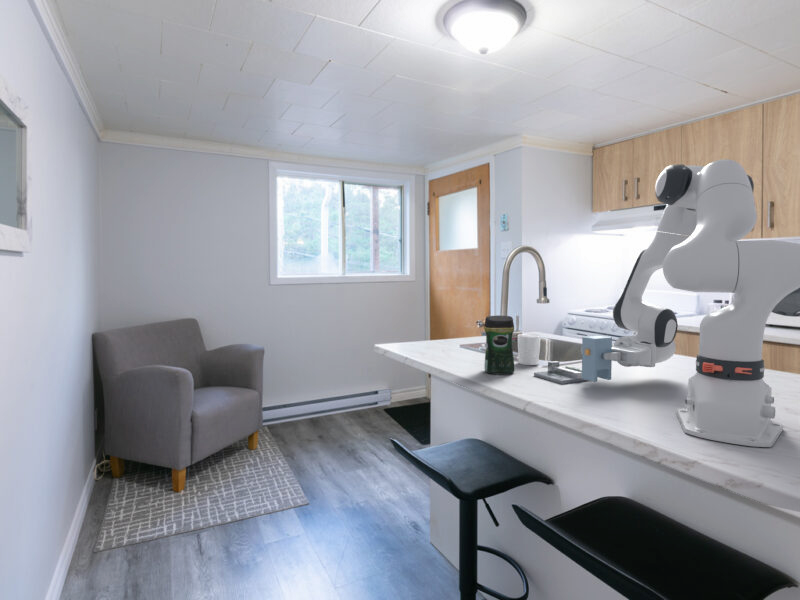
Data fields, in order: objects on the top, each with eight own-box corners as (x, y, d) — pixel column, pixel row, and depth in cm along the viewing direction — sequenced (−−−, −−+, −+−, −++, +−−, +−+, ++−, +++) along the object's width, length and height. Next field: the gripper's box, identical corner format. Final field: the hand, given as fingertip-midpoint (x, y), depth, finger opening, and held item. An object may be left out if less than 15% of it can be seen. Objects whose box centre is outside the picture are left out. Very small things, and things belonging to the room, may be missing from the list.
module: (611, 379, 131) (612, 337, 131) (592, 382, 128) (593, 338, 128) (598, 376, 135) (599, 335, 135) (580, 378, 132) (580, 337, 132)
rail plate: (597, 379, 141) (597, 366, 141) (561, 384, 135) (562, 370, 135) (567, 371, 152) (568, 359, 152) (534, 375, 146) (534, 363, 146)
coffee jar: (512, 369, 155) (512, 314, 154) (515, 375, 147) (516, 316, 146) (483, 369, 156) (483, 314, 155) (485, 374, 148) (485, 316, 147)
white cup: (544, 363, 166) (544, 335, 165) (533, 366, 160) (534, 337, 159) (524, 360, 171) (524, 333, 170) (513, 363, 165) (513, 335, 165)
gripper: (600, 336, 146) (567, 339, 140) (660, 345, 128) (625, 348, 122) (600, 356, 147) (567, 360, 141) (660, 367, 128) (624, 372, 122)
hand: (594, 354), depth 131 cm, fingers closed on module, 4 cm apart
